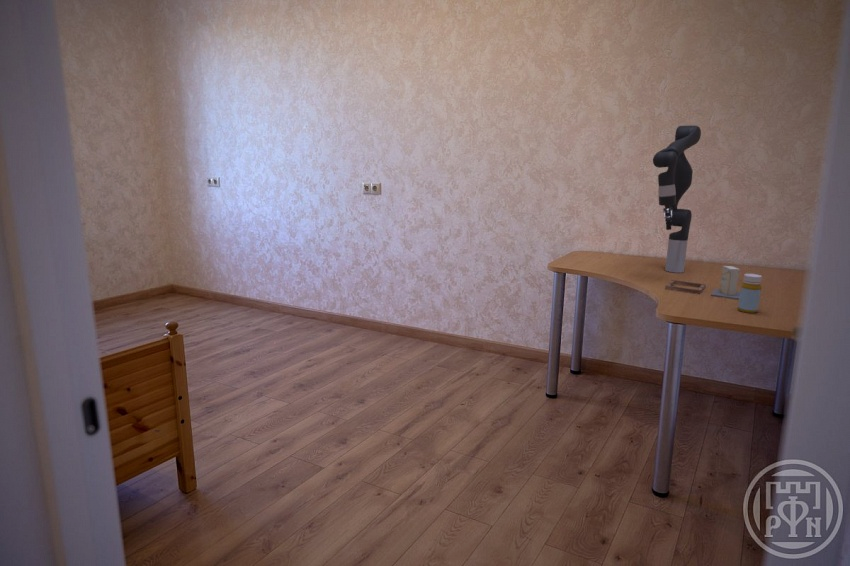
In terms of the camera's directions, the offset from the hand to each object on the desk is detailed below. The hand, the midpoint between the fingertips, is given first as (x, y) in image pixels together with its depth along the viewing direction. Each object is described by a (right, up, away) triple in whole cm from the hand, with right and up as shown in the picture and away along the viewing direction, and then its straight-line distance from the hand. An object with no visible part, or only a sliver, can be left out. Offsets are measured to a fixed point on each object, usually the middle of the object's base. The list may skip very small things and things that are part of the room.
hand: (668, 228), depth 270 cm
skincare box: (+19, -31, -16) cm, 40 cm away
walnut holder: (+5, -29, -6) cm, 30 cm away
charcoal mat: (+20, -32, -16) cm, 41 cm away
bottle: (+14, -38, -41) cm, 58 cm away
